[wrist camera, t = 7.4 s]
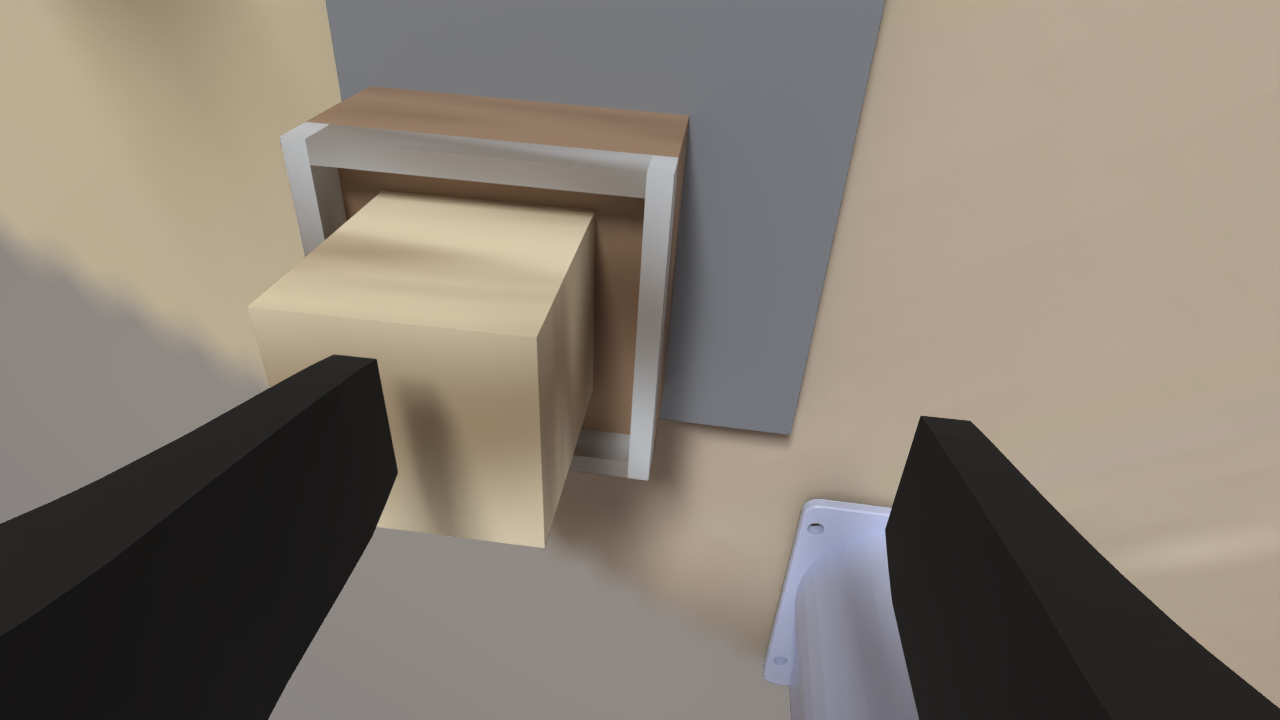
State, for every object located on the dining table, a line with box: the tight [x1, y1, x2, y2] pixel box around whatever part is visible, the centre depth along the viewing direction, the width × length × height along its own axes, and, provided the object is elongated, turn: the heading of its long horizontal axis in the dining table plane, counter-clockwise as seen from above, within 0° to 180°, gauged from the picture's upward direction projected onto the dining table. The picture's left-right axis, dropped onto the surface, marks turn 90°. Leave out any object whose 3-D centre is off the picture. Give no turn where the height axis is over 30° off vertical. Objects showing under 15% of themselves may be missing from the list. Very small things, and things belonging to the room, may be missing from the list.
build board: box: [325, 0, 885, 435], centre depth 17 cm, size 18×12×1 cm, turn 177°
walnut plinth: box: [280, 86, 689, 481], centre depth 17 cm, size 8×8×4 cm
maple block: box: [247, 191, 595, 548], centre depth 14 cm, size 4×4×5 cm
